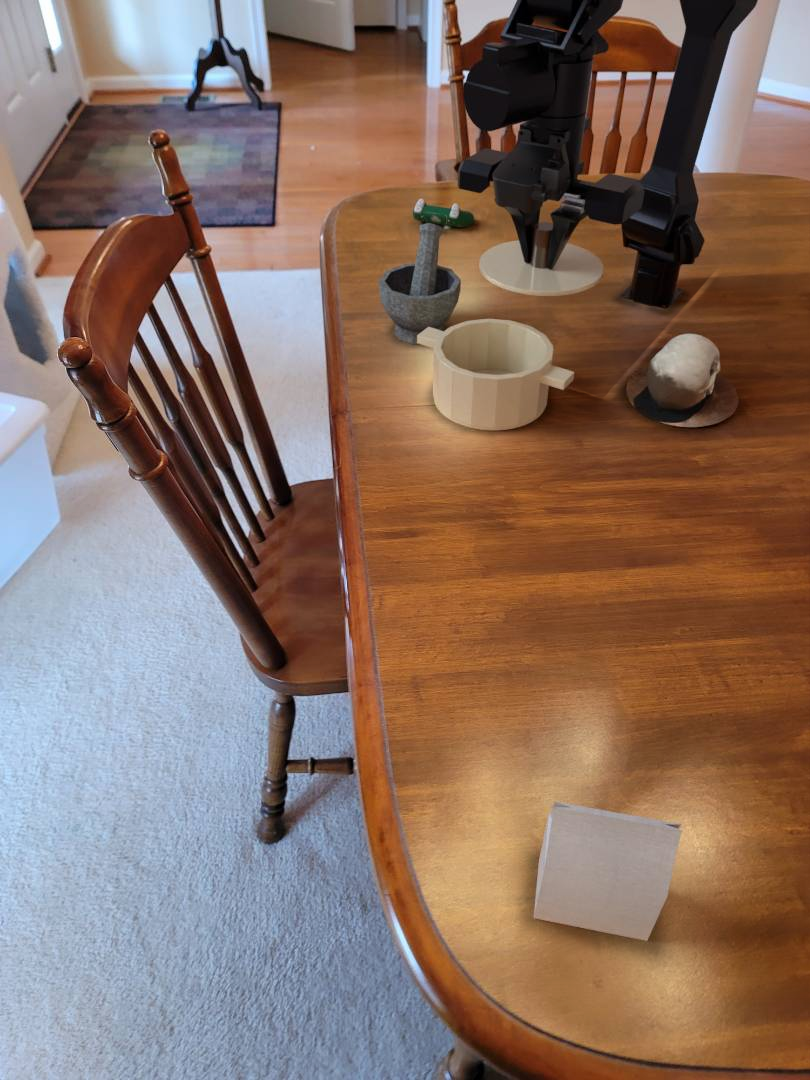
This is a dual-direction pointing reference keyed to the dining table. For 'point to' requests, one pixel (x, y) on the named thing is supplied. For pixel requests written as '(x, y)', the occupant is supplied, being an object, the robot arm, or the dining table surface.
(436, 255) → the mortar and pestle
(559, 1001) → the dining table surface
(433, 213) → the green toy car
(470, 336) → the pot
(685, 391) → the skull
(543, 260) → the lid
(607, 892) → the white rectangular box
